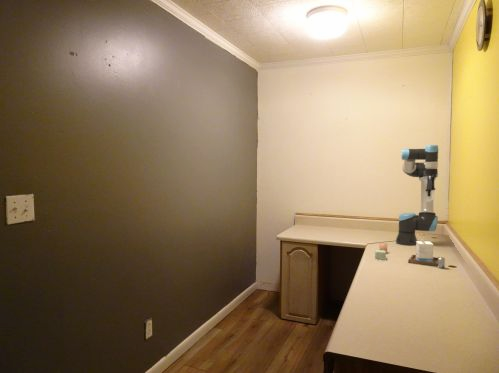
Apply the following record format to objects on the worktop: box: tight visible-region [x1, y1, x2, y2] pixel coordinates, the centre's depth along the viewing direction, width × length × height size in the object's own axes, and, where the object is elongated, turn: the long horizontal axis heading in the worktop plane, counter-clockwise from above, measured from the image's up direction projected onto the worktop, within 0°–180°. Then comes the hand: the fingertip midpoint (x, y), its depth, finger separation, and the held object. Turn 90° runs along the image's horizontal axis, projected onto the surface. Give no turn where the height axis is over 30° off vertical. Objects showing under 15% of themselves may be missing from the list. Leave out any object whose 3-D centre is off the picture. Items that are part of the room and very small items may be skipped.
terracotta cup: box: [379, 242, 388, 255], centre depth 246 cm, size 5×5×6 cm
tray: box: [407, 254, 438, 268], centre depth 223 cm, size 15×16×2 cm
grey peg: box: [437, 256, 446, 270], centre depth 210 cm, size 4×4×6 cm
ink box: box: [415, 238, 434, 263], centre depth 223 cm, size 9×8×13 cm
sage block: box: [374, 249, 387, 261], centre depth 231 cm, size 6×6×5 cm
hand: (430, 200), depth 238 cm, fingers open, 13 cm apart
